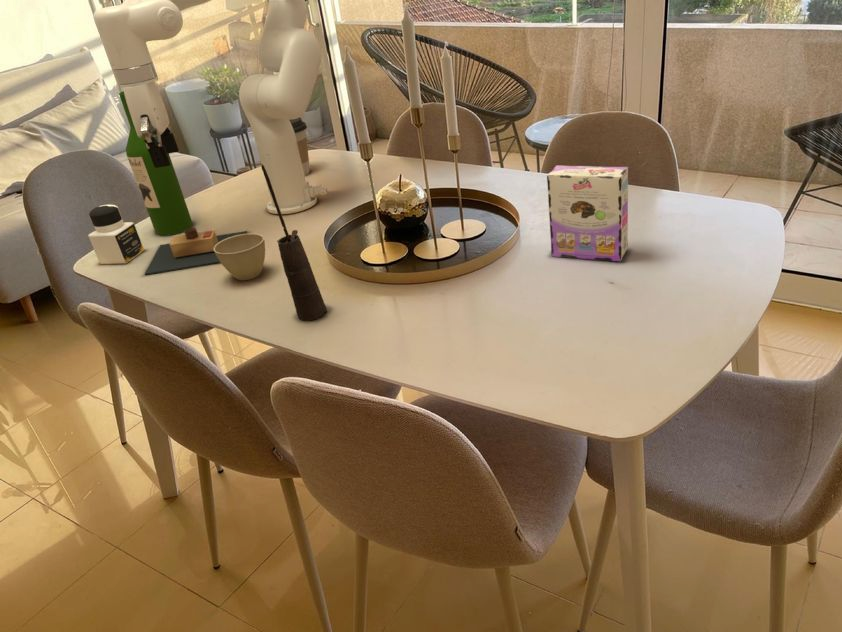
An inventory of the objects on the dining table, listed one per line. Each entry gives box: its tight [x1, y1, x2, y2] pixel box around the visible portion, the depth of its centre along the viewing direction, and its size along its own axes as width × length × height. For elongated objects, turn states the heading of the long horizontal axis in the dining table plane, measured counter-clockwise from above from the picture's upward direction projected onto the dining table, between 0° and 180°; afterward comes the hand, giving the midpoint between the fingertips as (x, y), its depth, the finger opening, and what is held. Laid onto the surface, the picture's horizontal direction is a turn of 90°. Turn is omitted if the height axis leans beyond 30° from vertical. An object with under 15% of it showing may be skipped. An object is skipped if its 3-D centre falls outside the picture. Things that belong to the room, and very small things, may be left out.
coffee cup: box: [289, 117, 311, 176], centre depth 195 cm, size 11×11×15 cm
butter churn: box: [261, 164, 328, 322], centre depth 118 cm, size 9×10×28 cm
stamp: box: [169, 226, 218, 259], centre depth 154 cm, size 9×5×5 cm, turn 99°
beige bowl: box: [214, 233, 266, 281], centre depth 141 cm, size 10×10×7 cm
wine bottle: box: [118, 90, 193, 237], centre depth 163 cm, size 9×9×32 cm
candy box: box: [546, 165, 629, 262], centre depth 129 cm, size 14×6×16 cm, turn 65°
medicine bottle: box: [87, 204, 145, 265], centre depth 155 cm, size 7×7×12 cm
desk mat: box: [144, 230, 248, 276], centre depth 156 cm, size 20×16×1 cm
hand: (167, 159), depth 147 cm, fingers open, 9 cm apart
